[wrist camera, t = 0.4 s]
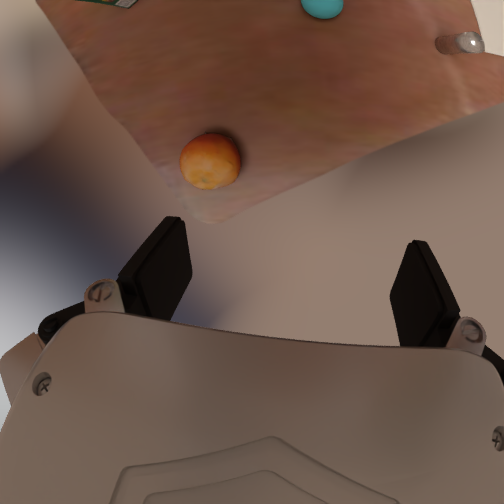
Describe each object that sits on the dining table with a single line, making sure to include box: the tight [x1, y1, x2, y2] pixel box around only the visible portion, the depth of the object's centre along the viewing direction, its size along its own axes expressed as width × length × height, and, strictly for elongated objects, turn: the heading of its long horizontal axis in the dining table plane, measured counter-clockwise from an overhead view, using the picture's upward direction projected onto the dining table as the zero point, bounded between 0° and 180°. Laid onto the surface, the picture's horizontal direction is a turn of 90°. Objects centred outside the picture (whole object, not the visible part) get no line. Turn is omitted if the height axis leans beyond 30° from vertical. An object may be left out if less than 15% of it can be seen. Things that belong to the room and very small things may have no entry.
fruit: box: [180, 132, 241, 190], centre depth 35 cm, size 8×8×8 cm
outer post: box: [435, 32, 485, 54], centre depth 18 cm, size 3×3×9 cm
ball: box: [301, 0, 343, 19], centre depth 21 cm, size 5×5×5 cm
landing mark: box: [470, 0, 504, 56], centre depth 14 cm, size 12×12×1 cm
